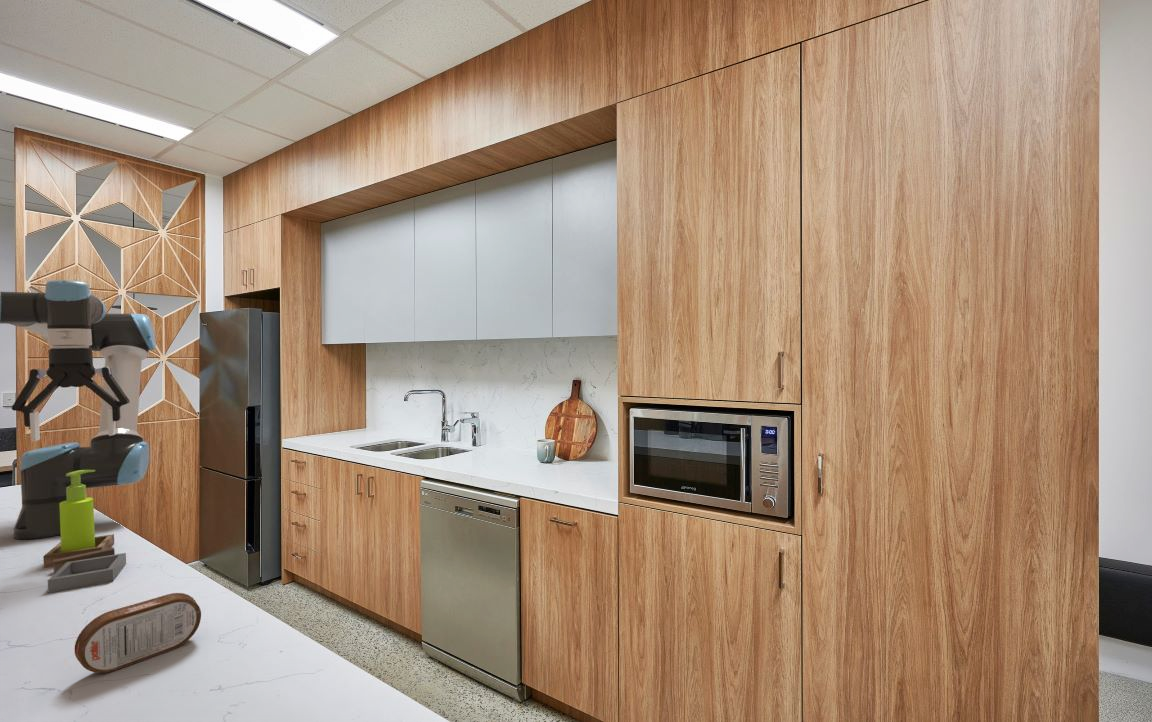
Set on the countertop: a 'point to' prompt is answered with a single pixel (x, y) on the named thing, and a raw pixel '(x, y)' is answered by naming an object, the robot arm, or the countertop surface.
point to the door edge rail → (82, 557)
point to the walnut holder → (56, 553)
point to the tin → (137, 632)
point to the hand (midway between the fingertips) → (75, 437)
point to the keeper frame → (68, 581)
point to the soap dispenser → (77, 516)
